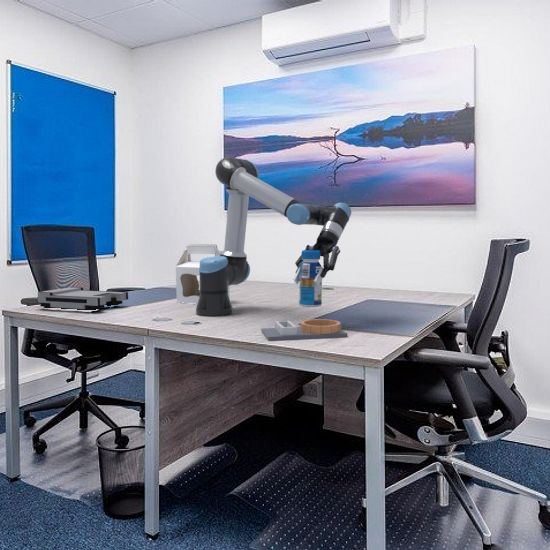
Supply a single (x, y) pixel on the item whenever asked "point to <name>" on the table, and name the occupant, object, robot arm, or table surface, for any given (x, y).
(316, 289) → the beverage bottle
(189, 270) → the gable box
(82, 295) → the office tray
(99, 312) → the table surface
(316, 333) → the socket board
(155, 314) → the table surface
